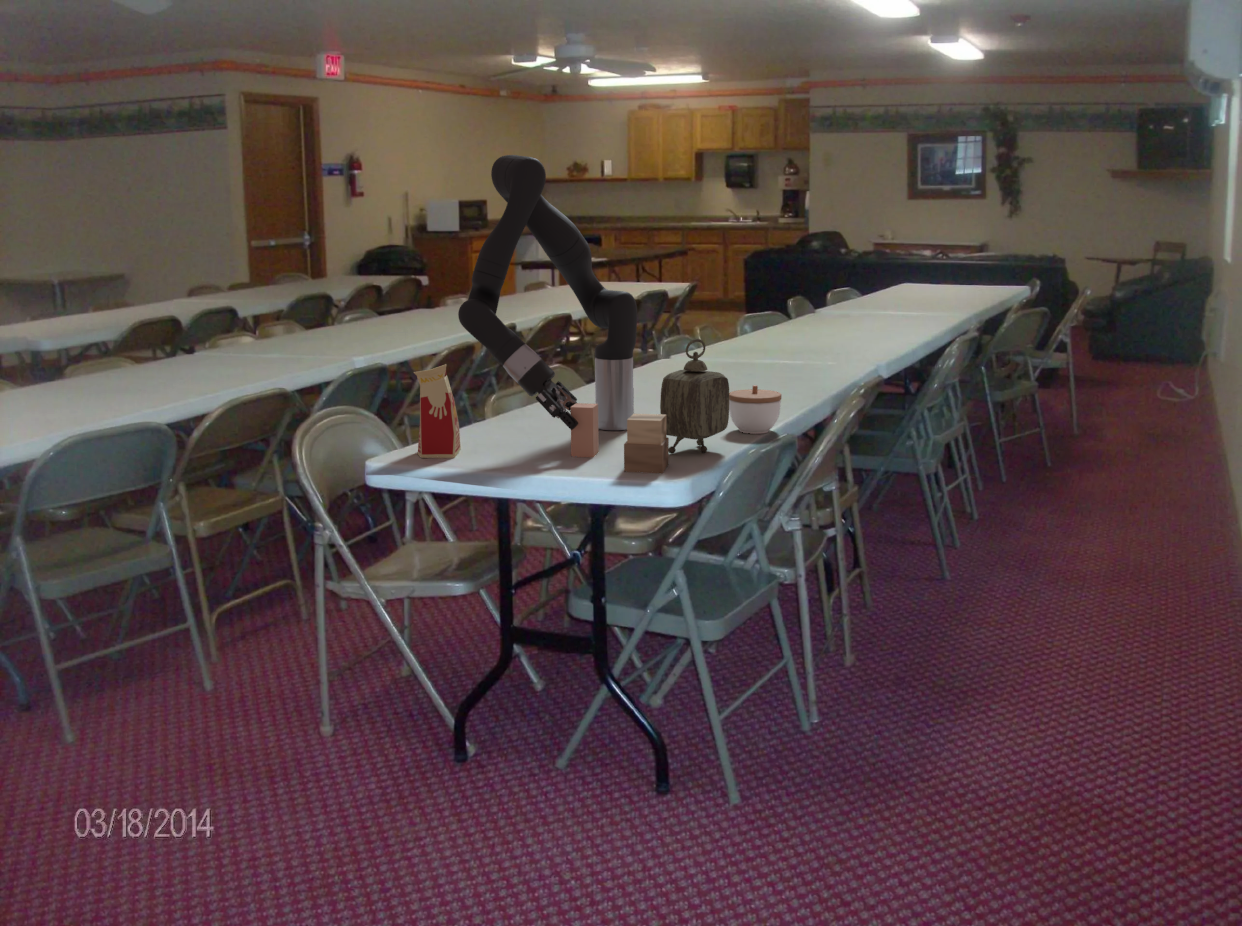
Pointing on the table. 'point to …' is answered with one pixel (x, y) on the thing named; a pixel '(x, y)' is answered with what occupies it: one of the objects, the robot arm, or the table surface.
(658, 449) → the walnut block
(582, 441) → the terracotta pillar
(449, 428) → the milk carton
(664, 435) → the oak block
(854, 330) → the table surface
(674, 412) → the tabletop clock
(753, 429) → the lidded bowl
